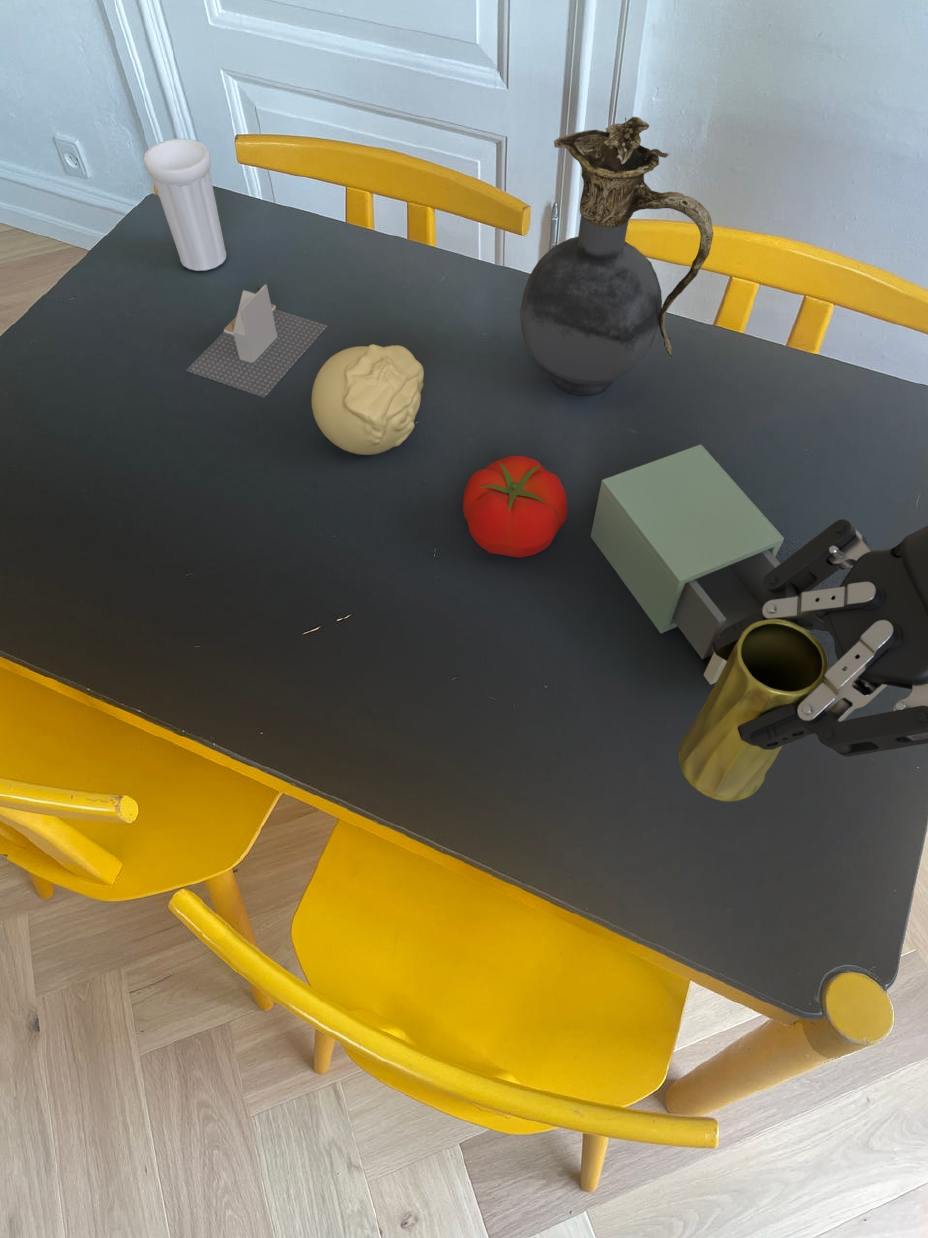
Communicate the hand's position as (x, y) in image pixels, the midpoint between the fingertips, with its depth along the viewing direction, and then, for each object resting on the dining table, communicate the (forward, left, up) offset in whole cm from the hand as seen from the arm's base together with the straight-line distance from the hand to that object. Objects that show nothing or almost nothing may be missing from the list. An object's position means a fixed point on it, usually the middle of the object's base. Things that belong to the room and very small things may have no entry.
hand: (733, 694), depth 52 cm
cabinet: (+24, -17, -24) cm, 38 cm away
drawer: (+14, -17, -23) cm, 32 cm away
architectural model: (+75, +11, -24) cm, 79 cm away
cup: (+96, +12, -24) cm, 99 cm away
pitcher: (+52, -24, -24) cm, 62 cm away
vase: (-1, -2, -10) cm, 11 cm away
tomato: (+35, -4, -24) cm, 43 cm away
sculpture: (+55, +4, -24) cm, 60 cm away
